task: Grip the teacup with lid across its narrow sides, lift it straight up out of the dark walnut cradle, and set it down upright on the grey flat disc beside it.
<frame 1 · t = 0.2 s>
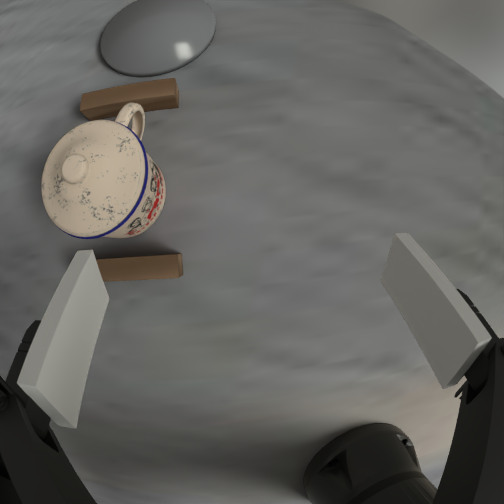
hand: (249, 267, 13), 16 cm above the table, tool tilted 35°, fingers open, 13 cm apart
teacup with lid: (130, 181, 28), on the table
walnut cradle: (129, 181, 28), on the table
grey flat disc: (157, 32, 28), on the table
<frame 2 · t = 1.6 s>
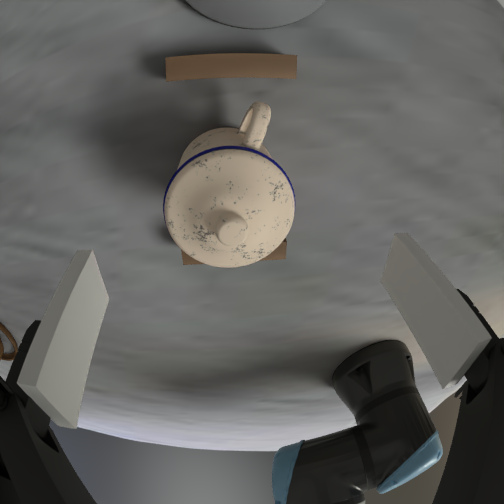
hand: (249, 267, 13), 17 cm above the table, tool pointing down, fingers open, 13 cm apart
teacup with lid: (230, 156, 27), on the table
walnut cradle: (230, 157, 27), on the table
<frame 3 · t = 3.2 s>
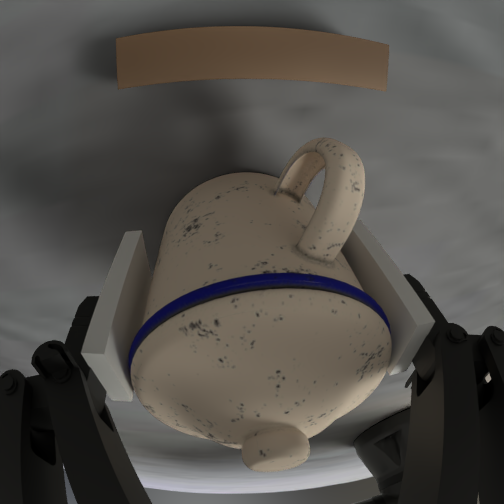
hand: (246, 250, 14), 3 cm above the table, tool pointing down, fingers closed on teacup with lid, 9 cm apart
teacup with lid: (252, 221, 16), on the table, touching gripper
walnut cradle: (249, 224, 16), on the table
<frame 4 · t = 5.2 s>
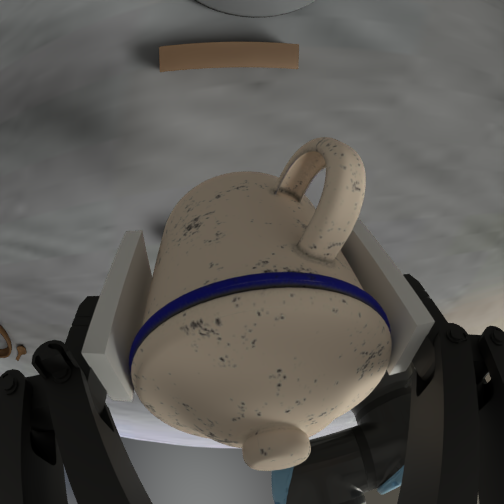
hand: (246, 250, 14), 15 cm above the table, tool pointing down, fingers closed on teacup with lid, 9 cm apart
teacup with lid: (252, 220, 16), point 12 cm above the table, touching gripper
walnut cradle: (228, 151, 25), on the table
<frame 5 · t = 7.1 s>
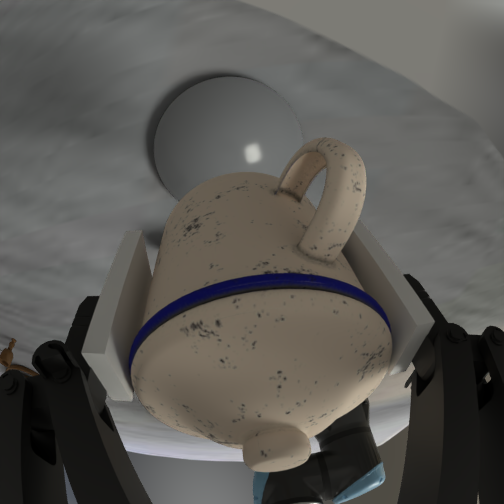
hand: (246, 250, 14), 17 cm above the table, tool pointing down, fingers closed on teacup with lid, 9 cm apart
teacup with lid: (252, 220, 16), point 14 cm above the table, touching gripper
grey flat disc: (228, 148, 28), on the table
place setting: (34, 371, 46), on the table
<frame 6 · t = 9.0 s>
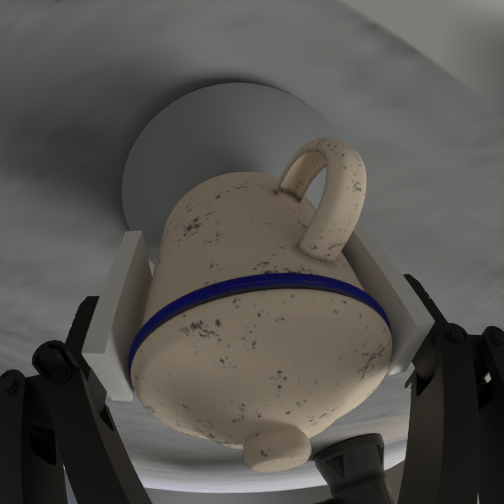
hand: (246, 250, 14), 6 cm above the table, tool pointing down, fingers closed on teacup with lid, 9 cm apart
teacup with lid: (252, 220, 16), point 3 cm above the table, touching gripper
grey flat disc: (236, 195, 19), on the table
when the fingers open (5 cm above the table, at t = 9.8 s): teacup with lid drops 1 cm, resting on grey flat disc.
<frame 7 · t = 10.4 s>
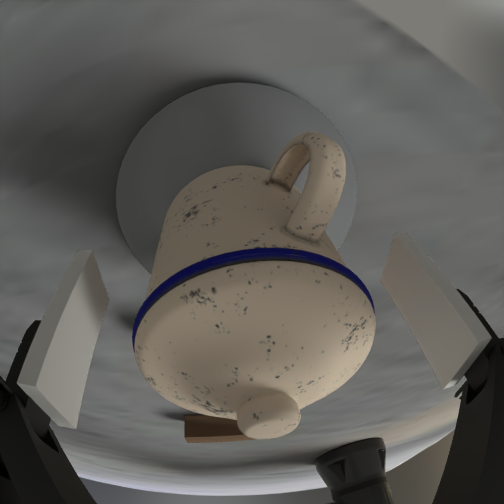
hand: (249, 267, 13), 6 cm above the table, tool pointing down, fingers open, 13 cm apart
teacup with lid: (247, 211, 17), point 1 cm above the table, touching grey flat disc
walnut cradle: (221, 383, 28), on the table
grey flat disc: (238, 202, 18), on the table
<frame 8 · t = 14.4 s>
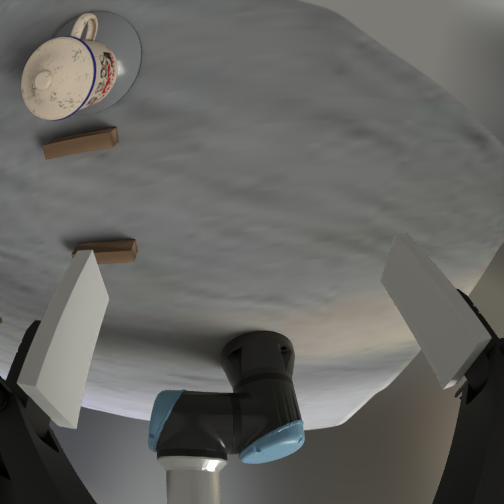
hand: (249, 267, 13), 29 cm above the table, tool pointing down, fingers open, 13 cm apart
teacup with lid: (91, 62, 28), point 1 cm above the table, touching grey flat disc
walnut cradle: (94, 197, 39), on the table
grey flat disc: (90, 62, 28), on the table
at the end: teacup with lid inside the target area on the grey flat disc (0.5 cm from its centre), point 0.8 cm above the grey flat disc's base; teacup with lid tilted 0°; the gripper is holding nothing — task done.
